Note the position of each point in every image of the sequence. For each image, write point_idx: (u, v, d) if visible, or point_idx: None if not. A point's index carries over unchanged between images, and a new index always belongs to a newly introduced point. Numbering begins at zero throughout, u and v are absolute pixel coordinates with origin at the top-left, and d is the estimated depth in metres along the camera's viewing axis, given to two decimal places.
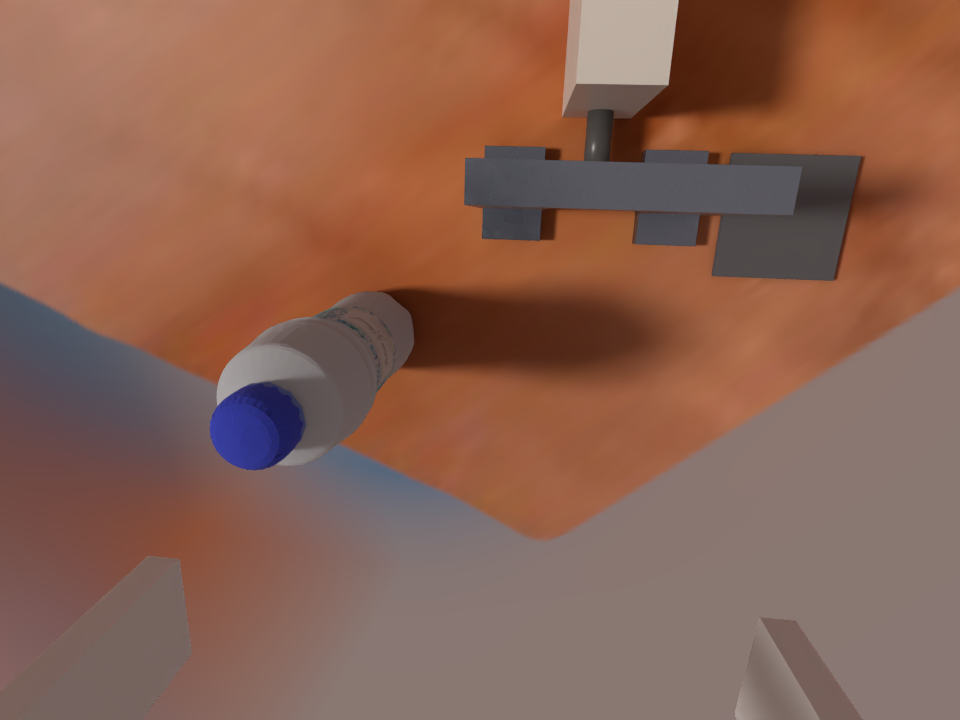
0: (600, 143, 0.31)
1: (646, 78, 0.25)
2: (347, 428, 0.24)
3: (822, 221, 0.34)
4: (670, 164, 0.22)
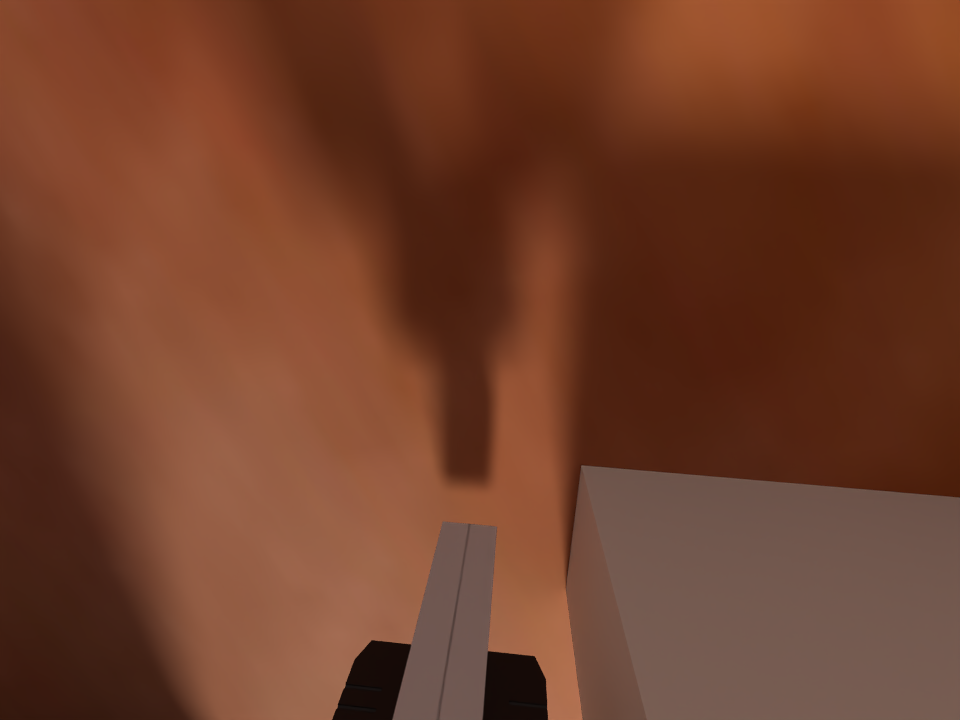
0: None
1: None
2: None
3: None
4: None
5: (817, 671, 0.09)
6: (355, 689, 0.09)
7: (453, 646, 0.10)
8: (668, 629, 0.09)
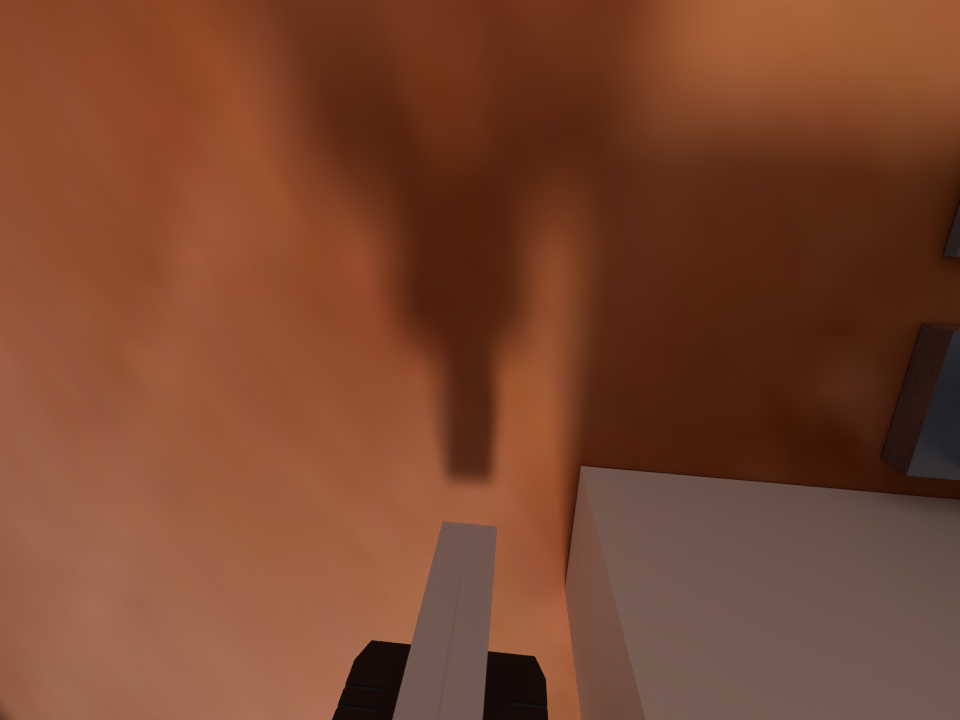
0: None
1: None
2: None
3: None
4: None
5: (816, 674, 0.09)
6: (355, 689, 0.09)
7: (453, 646, 0.10)
8: (667, 630, 0.09)
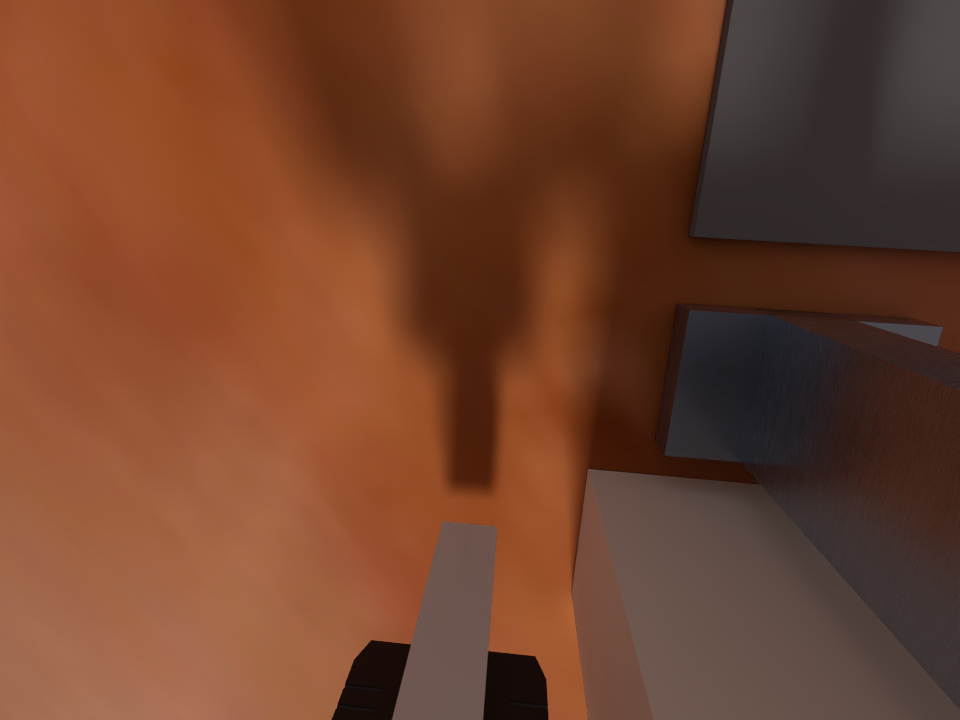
0: None
1: None
2: None
3: None
4: None
5: (832, 686, 0.08)
6: (355, 689, 0.09)
7: (453, 646, 0.10)
8: (678, 639, 0.09)
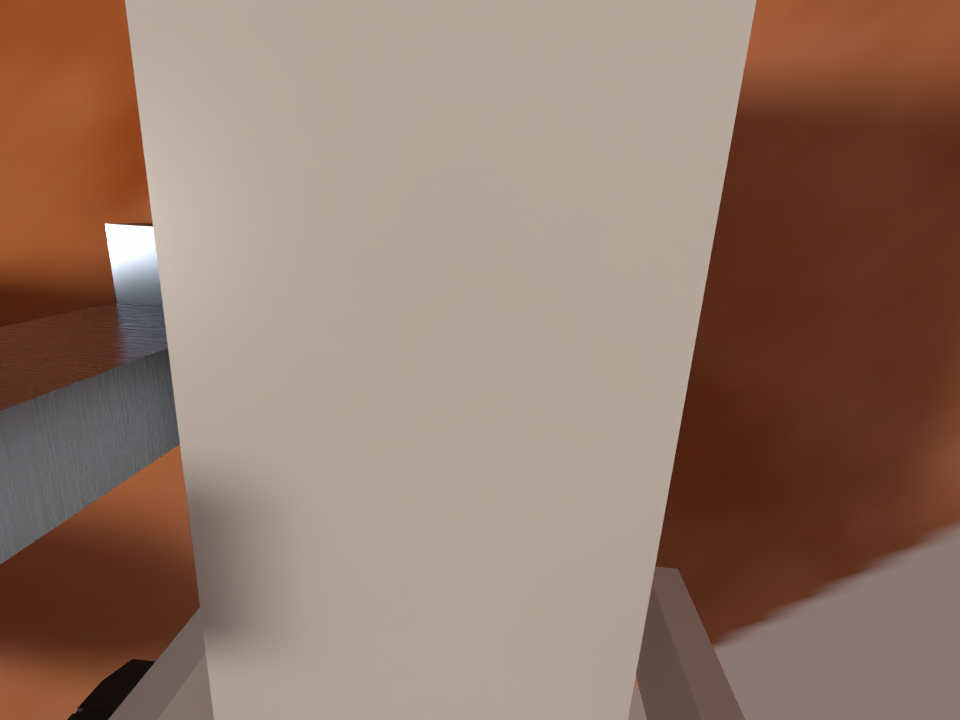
0: None
1: None
2: None
3: None
4: None
5: None
6: (84, 714, 0.09)
7: (198, 667, 0.09)
8: None
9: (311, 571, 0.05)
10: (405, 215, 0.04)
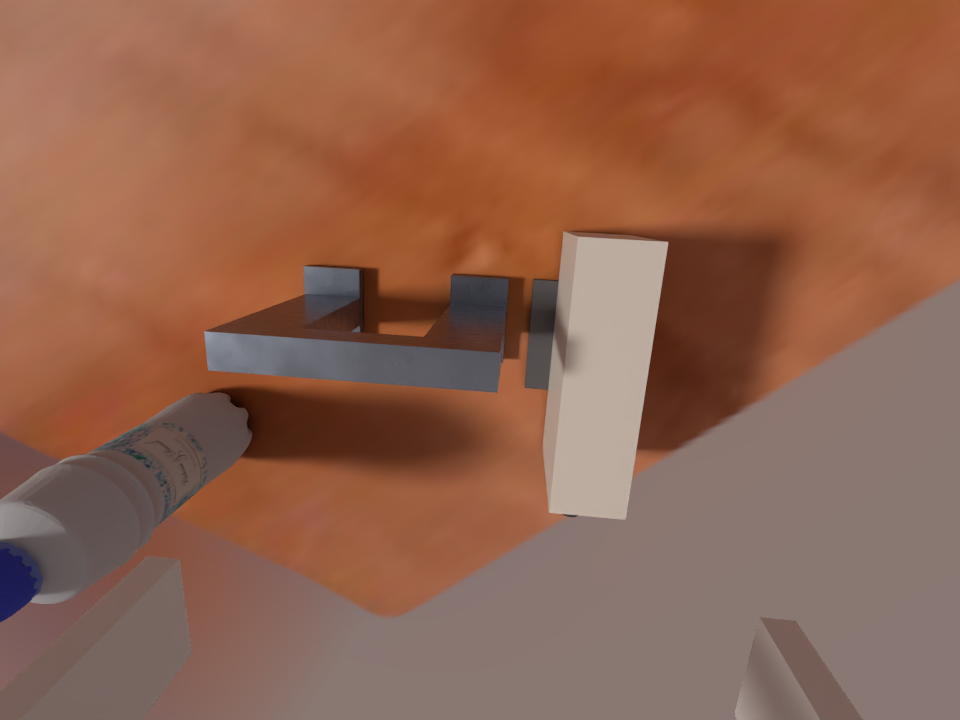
0: None
1: (607, 513, 0.30)
2: (102, 569, 0.26)
3: None
4: (384, 345, 0.24)
5: None
6: None
7: None
8: None
9: (588, 354, 0.27)
10: (613, 291, 0.26)
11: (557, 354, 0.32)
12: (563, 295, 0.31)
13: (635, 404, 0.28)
